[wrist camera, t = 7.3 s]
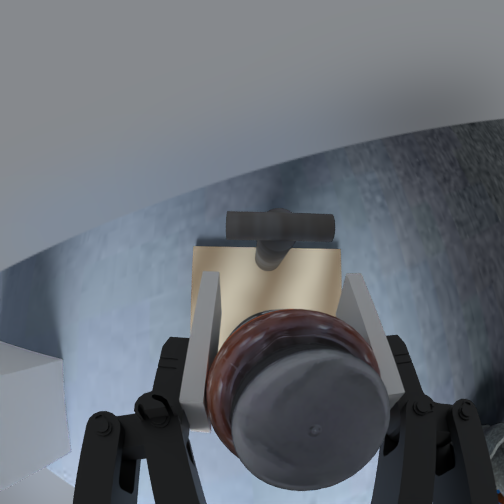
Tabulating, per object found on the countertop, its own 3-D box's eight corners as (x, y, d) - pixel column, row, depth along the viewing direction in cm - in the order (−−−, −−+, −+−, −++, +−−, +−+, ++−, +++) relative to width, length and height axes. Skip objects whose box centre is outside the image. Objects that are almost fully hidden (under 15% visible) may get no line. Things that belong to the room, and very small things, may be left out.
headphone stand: (337, 249, 30) (395, 208, 17) (336, 381, 27) (393, 426, 14) (195, 246, 30) (157, 201, 17) (192, 381, 27) (152, 431, 14)
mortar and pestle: (455, 427, 26) (516, 456, 14) (502, 402, 26) (562, 417, 14) (444, 492, 24) (491, 529, 12) (492, 465, 24) (540, 490, 12)
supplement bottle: (299, 417, 16) (356, 532, 5) (208, 383, 17) (153, 480, 6) (339, 330, 18) (455, 351, 6) (247, 292, 18) (246, 267, 7)
